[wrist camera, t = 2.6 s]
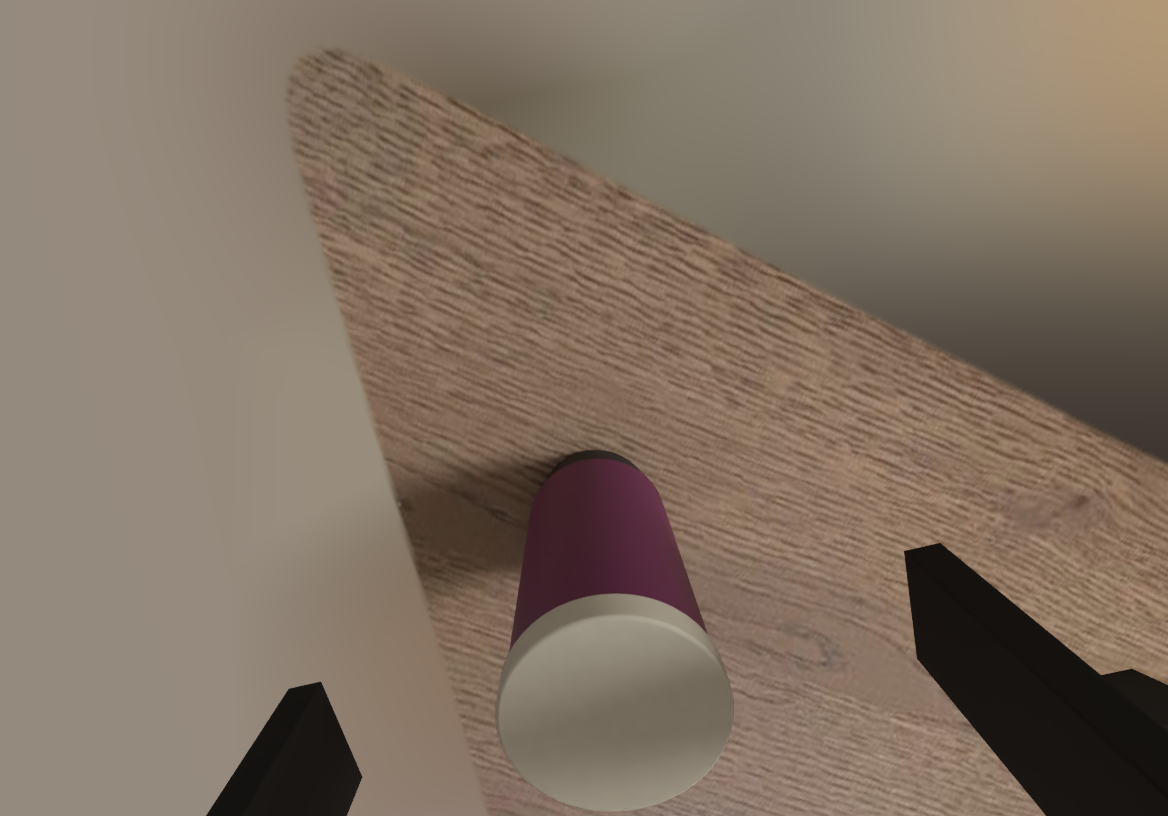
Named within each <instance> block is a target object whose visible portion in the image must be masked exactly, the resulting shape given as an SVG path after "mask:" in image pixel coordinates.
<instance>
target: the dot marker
mask: <svg viewBox="0 0 1168 816" xmlns="http://www.w3.org/2000/svg"><path fill="white" fill-rule="evenodd" d="M733 717H734V701H733V694H732V689H731V686H730V683H729V679H728V676H727V674H726V671H725V668H724V665H723V662H722V659H721V657H720V655H719V653H718V651H717V648H716V646H715V645H714V643H713V642H712V640H711V639H710V637H709V636H708V634H707V631H706V628H705V625H704V622H703V619H702V617H701V614H700V611H699V608H698V605H697V602H696V599H695V596H694V593H693V590H692V587H691V584H690V581H689V578H688V576H687V573H686V570H685V567H684V564H683V561H682V558H681V555H680V552H679V549H678V546H677V543H676V540H675V537H674V535H673V532H672V529H671V526H670V523H669V520H668V517H667V514H666V511H665V508H664V505H663V502H662V499H661V497H660V495H659V493H658V491H657V489H656V488H655V486H654V485H653V484H652V482H651V481H650V480H649V479H648V478H647V477H646V476H645V475H643V474H642V473H641V472H640V470H639V469H638V468H637V467H636V466H635V465H634V464H633V463H631V462H630V461H629V460H627V459H626V458H624V457H622V456H620V455H618V454H615V453H612V452H607V451H598V450H595V451H586V452H581V453H578V454H575V455H573V456H571V457H569V458H567V459H565V460H564V461H562V462H561V463H560V464H559V465H557V466H556V467H555V468H554V470H553V471H552V472H551V473H550V475H549V476H548V478H547V480H546V482H545V483H544V484H543V485H542V487H541V488H540V489H539V491H538V493H537V495H536V496H535V499H534V501H533V504H532V508H531V512H530V519H529V525H528V532H527V538H526V545H525V551H524V558H523V565H522V571H521V578H520V584H519V591H518V598H517V604H516V611H515V617H514V624H513V631H512V637H511V644H510V650H509V654H508V656H507V658H506V661H505V663H504V666H503V668H502V673H501V678H500V683H499V689H498V695H497V701H496V714H495V718H496V727H497V732H498V736H499V740H500V743H501V745H502V748H503V750H504V752H505V754H506V757H507V758H508V760H509V761H510V763H511V764H512V766H513V767H514V769H515V770H516V771H517V772H518V773H519V774H520V776H521V777H522V778H523V779H525V780H526V781H527V782H528V783H529V784H530V785H531V786H533V787H534V788H536V789H537V790H538V791H540V792H541V793H543V794H545V795H547V796H549V797H550V798H552V799H554V800H556V801H559V802H562V803H564V804H567V805H570V806H574V807H578V808H581V809H587V810H594V811H607V812H616V811H629V810H635V809H641V808H645V807H649V806H653V805H656V804H659V803H661V802H664V801H666V800H669V799H671V798H673V797H675V796H677V795H679V794H681V793H682V792H684V791H685V790H687V789H688V788H690V787H691V786H693V785H694V784H695V783H697V782H698V781H699V780H700V779H701V778H702V777H704V776H705V774H706V773H707V772H708V771H709V770H710V769H711V768H712V767H713V766H714V764H715V763H716V761H717V760H718V759H719V757H720V756H721V754H722V752H723V750H724V748H725V746H726V744H727V741H728V738H729V735H730V733H731V728H732V722H733Z"/></svg>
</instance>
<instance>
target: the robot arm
mask: <svg viewBox="0 0 1168 816" xmlns="http://www.w3.org/2000/svg"><path fill="white" fill-rule="evenodd" d="M904 554H905V563H906V571H907V579H908V587H909V596H910V604H911V612H912V621H913V629H914V637H915V645H916V654H917V659H918V660H919V661H920V663H921V664H922V665H923V666H924V667H925V669H926V670H927V671H928V672H929V674H930V675H931V676H932V677H933V678H934V680H935V681H936V682H937V683H938V684H939V686H940V687H941V688H942V689H943V691H944V692H945V693H946V694H947V695H948V697H949V698H950V699H951V700H952V702H953V703H954V704H955V705H956V706H957V708H958V709H959V710H960V711H961V712H962V714H963V715H964V716H965V717H966V719H967V720H968V721H969V722H970V723H971V725H972V726H973V727H974V728H975V730H976V731H977V732H978V733H979V734H980V736H981V737H982V738H983V739H984V740H985V742H986V743H987V744H988V745H989V747H990V748H991V749H992V750H993V751H994V753H995V754H996V755H997V756H998V758H999V759H1000V760H1001V761H1002V762H1003V764H1004V765H1005V766H1006V767H1007V768H1008V770H1009V771H1010V772H1011V773H1012V775H1013V776H1014V777H1015V778H1016V779H1017V781H1018V782H1019V783H1020V784H1021V786H1022V787H1023V788H1024V789H1025V790H1026V792H1027V793H1028V794H1029V795H1030V796H1031V798H1032V799H1033V800H1034V801H1035V803H1036V804H1037V805H1038V806H1039V807H1040V809H1041V810H1042V811H1043V812H1044V814H1045V815H1046V816H1168V685H1166V684H1164V683H1162V682H1160V681H1157V680H1155V679H1153V678H1151V677H1149V676H1147V675H1144V674H1142V673H1140V672H1138V671H1136V670H1133V669H1129V670H1124V671H1119V672H1114V673H1110V674H1105V675H1100V674H1099V673H1098V672H1096V671H1095V670H1094V669H1093V668H1092V667H1090V666H1089V665H1088V664H1087V663H1085V662H1084V661H1083V660H1082V659H1081V658H1079V657H1078V656H1077V655H1076V654H1075V653H1073V652H1072V651H1071V650H1070V649H1068V648H1067V647H1066V646H1065V645H1064V644H1062V643H1061V642H1060V641H1059V640H1058V639H1056V638H1055V637H1054V636H1053V635H1051V634H1050V633H1049V632H1048V631H1047V630H1045V629H1044V628H1043V627H1042V626H1040V625H1039V624H1038V623H1037V622H1036V621H1034V620H1033V619H1032V618H1031V617H1030V616H1028V615H1027V614H1026V613H1025V612H1023V611H1022V610H1021V609H1020V608H1019V607H1017V606H1016V605H1015V604H1014V603H1012V602H1011V601H1010V600H1009V599H1008V598H1006V597H1005V596H1004V595H1003V594H1002V593H1000V592H999V591H998V590H997V589H995V588H994V587H993V586H992V585H991V584H989V583H988V582H987V581H986V580H984V579H983V578H982V577H981V576H980V575H978V574H977V573H976V572H975V571H974V570H972V569H971V568H970V567H969V566H967V565H966V564H965V563H964V562H963V561H961V560H960V559H959V558H958V557H956V556H955V555H954V554H953V553H952V552H950V551H949V550H948V549H947V548H946V547H944V546H943V545H942V544H941V543H938V544H934V545H929V546H925V547H920V548H916V549H911V550H907V551H904ZM361 779H362V775H361V773H360V771H359V768H358V766H357V764H356V761H355V759H354V757H353V754H352V752H351V750H350V748H349V745H348V743H347V741H346V738H345V736H344V734H343V731H342V729H341V727H340V724H339V722H338V720H337V718H336V715H335V713H334V711H333V708H332V706H331V704H330V701H329V699H328V697H327V695H326V692H325V690H324V688H323V685H322V683H321V682H317V683H313V684H308V685H304V686H299V687H295V688H291V689H288V691H287V692H286V694H285V696H284V697H283V699H282V700H281V702H280V703H279V705H278V706H277V708H276V709H275V711H274V712H273V714H272V715H271V717H270V719H269V720H268V722H267V723H266V725H265V726H264V728H263V729H262V731H261V732H260V734H259V736H258V737H257V739H256V740H255V742H254V743H253V745H252V746H251V748H250V749H249V751H248V752H247V754H246V755H245V757H244V758H243V760H242V762H241V763H240V765H239V766H238V768H237V769H236V771H235V772H234V774H233V775H232V777H231V778H230V780H229V781H228V783H227V785H226V786H225V788H224V789H223V791H222V792H221V794H220V795H219V797H218V799H217V800H216V802H215V803H214V804H213V806H212V808H211V809H210V811H209V812H208V814H207V815H206V816H347V814H348V811H349V809H350V806H351V804H352V801H353V799H354V796H355V794H356V791H357V789H358V786H359V784H360V781H361Z"/></svg>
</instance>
